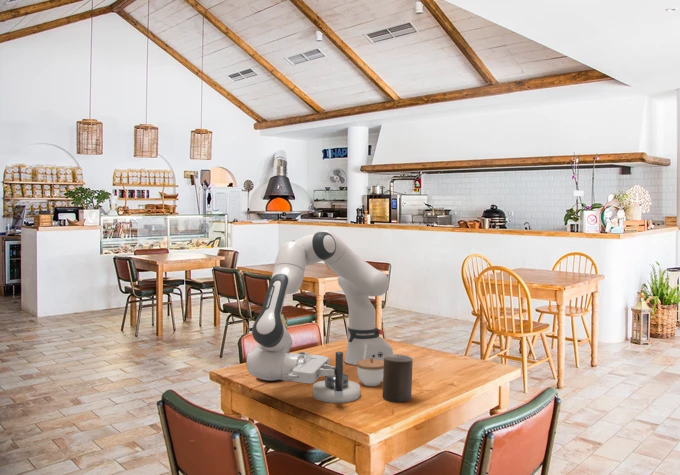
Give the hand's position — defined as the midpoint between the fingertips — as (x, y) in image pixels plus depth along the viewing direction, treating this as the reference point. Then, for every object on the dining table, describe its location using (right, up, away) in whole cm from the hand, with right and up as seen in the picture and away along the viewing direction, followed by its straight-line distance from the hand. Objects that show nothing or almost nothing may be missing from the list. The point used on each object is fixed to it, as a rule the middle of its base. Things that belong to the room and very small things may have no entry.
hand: (335, 371), depth 185 cm
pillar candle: (+21, -11, +10) cm, 26 cm away
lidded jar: (+13, -11, +25) cm, 30 cm away
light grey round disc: (0, -11, +12) cm, 16 cm away
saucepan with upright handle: (0, -8, +7) cm, 10 cm away
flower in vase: (-24, -10, +31) cm, 40 cm away
